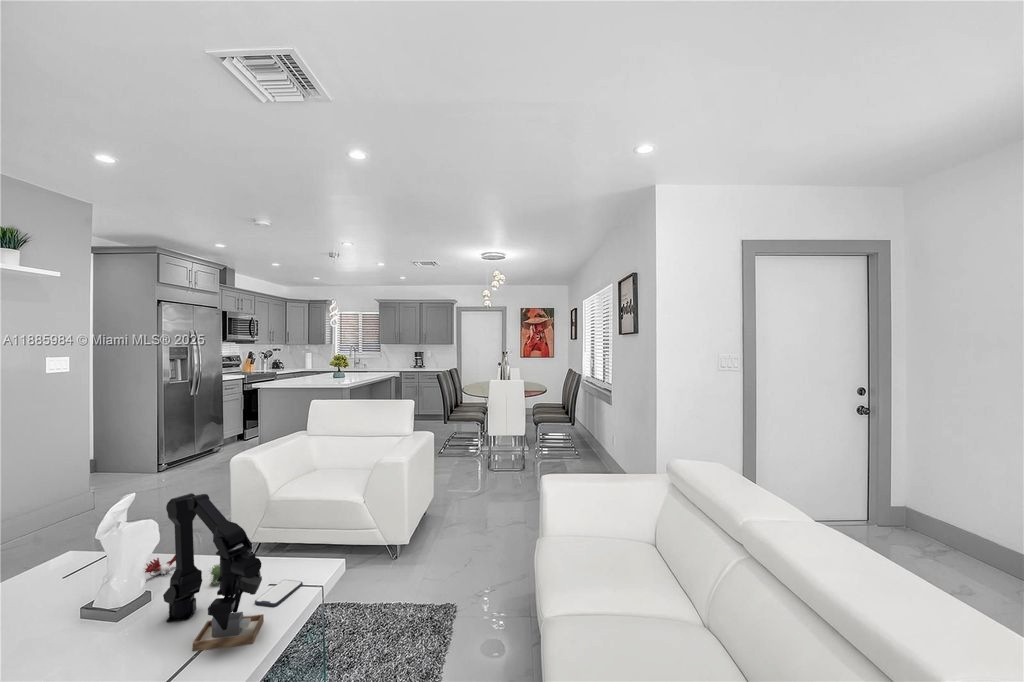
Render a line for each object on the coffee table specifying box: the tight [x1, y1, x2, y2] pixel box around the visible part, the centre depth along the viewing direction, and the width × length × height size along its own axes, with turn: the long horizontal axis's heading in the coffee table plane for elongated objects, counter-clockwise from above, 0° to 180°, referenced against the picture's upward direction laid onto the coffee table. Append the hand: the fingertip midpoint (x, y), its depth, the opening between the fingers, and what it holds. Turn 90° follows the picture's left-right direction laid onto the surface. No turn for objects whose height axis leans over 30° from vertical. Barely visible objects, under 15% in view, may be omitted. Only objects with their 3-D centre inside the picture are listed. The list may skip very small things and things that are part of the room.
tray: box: [191, 614, 265, 652], centre depth 145 cm, size 16×11×2 cm
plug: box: [211, 611, 251, 638], centre depth 145 cm, size 10×4×5 cm, turn 103°
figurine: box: [144, 554, 176, 578], centre depth 182 cm, size 15×12×7 cm
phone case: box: [254, 579, 303, 608], centre depth 169 cm, size 9×2×16 cm
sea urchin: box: [201, 563, 220, 588], centre depth 174 cm, size 12×12×8 cm
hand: (230, 620), depth 145 cm, fingers open, 9 cm apart
